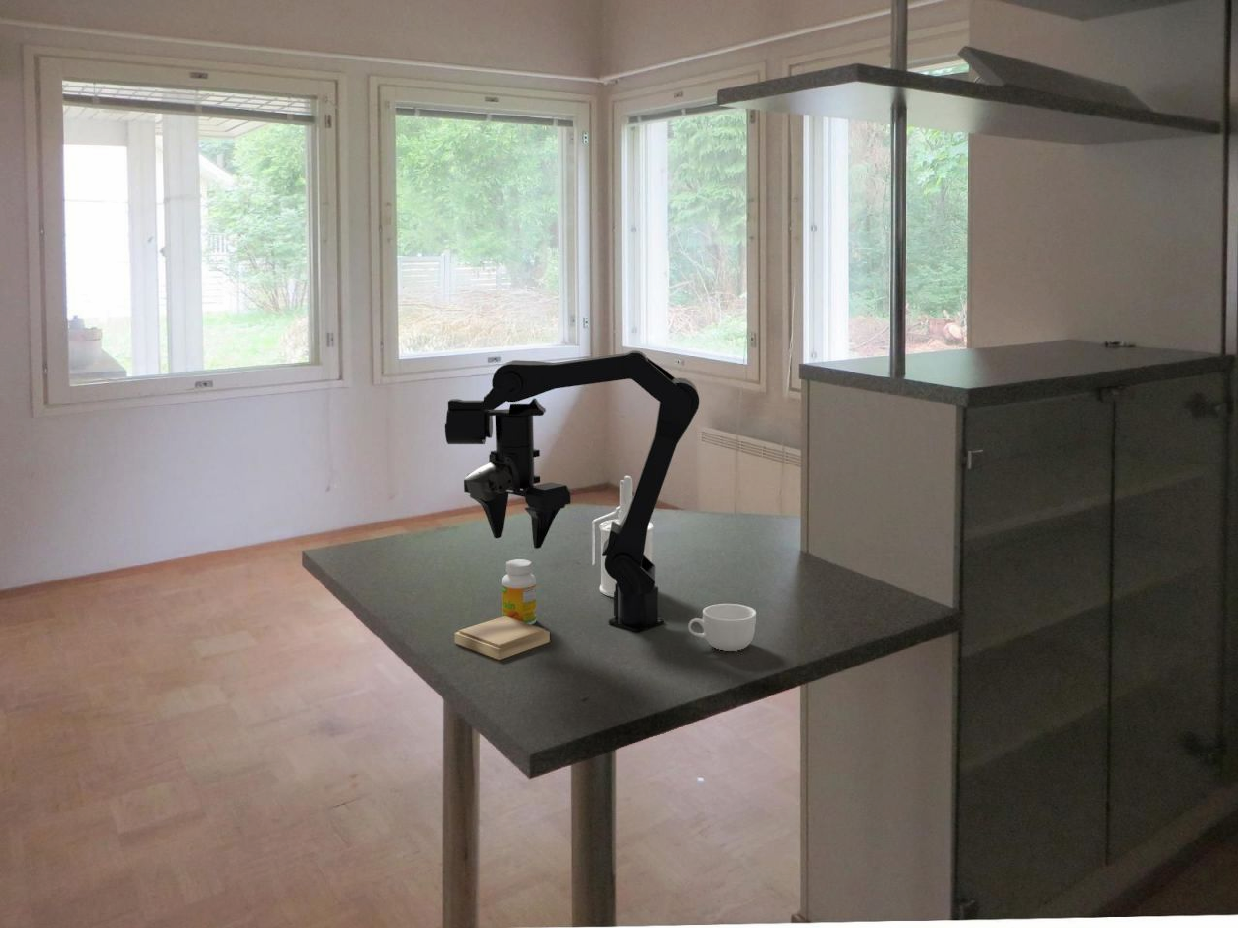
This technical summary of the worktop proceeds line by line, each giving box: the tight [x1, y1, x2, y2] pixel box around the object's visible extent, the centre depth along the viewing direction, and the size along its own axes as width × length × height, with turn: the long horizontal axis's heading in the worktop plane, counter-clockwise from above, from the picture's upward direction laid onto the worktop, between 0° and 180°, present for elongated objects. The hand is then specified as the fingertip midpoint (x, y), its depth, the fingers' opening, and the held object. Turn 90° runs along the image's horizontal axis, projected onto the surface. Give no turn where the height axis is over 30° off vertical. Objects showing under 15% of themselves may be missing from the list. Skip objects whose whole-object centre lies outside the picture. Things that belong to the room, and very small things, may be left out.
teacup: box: [687, 603, 757, 652], centre depth 164 cm, size 10×8×5 cm
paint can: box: [591, 475, 655, 598], centre depth 189 cm, size 10×9×20 cm
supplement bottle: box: [501, 558, 538, 625], centre depth 174 cm, size 5×5×10 cm
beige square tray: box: [454, 615, 551, 661], centre depth 166 cm, size 10×10×2 cm
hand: (517, 542), depth 173 cm, fingers open, 9 cm apart
